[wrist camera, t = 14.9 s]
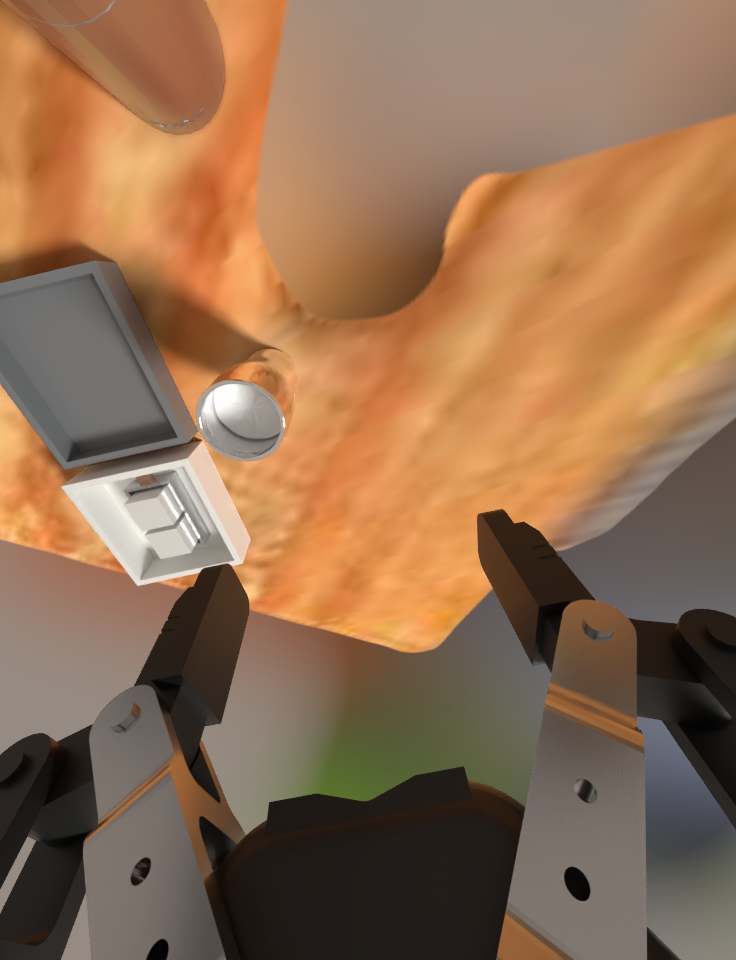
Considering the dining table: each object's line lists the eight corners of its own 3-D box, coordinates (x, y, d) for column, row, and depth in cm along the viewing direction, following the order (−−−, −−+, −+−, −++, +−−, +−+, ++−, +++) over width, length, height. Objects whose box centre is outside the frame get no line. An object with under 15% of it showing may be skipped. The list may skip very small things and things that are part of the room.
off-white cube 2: (159, 515, 45) (144, 535, 42) (188, 509, 45) (176, 528, 42) (173, 538, 47) (160, 559, 44) (201, 533, 47) (191, 552, 44)
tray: (-30, 296, 33) (-64, 298, 30) (116, 262, 33) (95, 260, 30) (82, 457, 42) (64, 470, 39) (198, 431, 42) (188, 442, 39)
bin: (88, 465, 43) (60, 486, 38) (202, 440, 42) (187, 458, 38) (154, 559, 51) (137, 585, 46) (250, 539, 50) (242, 563, 46)
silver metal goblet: (245, 335, 37) (196, 363, 24) (309, 355, 38) (296, 392, 25) (236, 396, 40) (189, 451, 27) (296, 413, 41) (278, 472, 29)
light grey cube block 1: (140, 486, 43) (123, 504, 40) (171, 480, 43) (157, 497, 40) (156, 512, 45) (141, 531, 42) (186, 505, 45) (173, 524, 42)
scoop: (124, 466, 42) (113, 476, 40) (168, 456, 42) (159, 465, 40) (172, 541, 48) (165, 553, 46) (210, 533, 48) (205, 544, 46)
